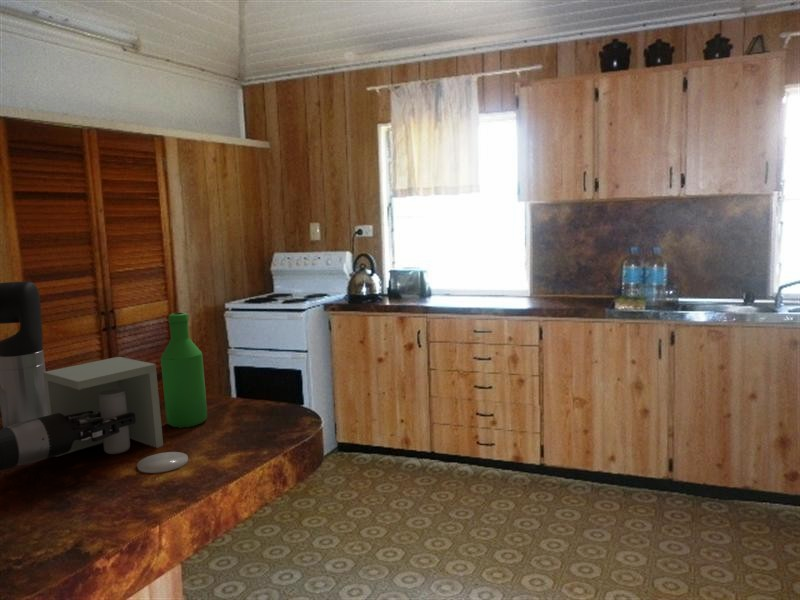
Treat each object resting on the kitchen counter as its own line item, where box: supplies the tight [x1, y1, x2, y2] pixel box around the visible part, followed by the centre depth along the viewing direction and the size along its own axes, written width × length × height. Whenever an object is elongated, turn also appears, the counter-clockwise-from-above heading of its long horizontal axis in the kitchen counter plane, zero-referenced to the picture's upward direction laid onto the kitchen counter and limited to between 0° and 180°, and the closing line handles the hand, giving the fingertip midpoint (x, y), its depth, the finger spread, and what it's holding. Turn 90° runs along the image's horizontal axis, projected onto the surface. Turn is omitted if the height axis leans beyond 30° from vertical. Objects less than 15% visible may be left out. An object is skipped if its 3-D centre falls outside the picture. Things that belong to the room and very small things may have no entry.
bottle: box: [160, 312, 208, 429], centre depth 146 cm, size 9×9×25 cm
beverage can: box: [99, 389, 131, 455], centre depth 129 cm, size 5×5×12 cm
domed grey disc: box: [136, 451, 189, 474], centre depth 124 cm, size 9×9×1 cm
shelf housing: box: [43, 356, 164, 457], centre depth 131 cm, size 16×14×17 cm
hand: (126, 415), depth 131 cm, fingers closed on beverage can, 4 cm apart
